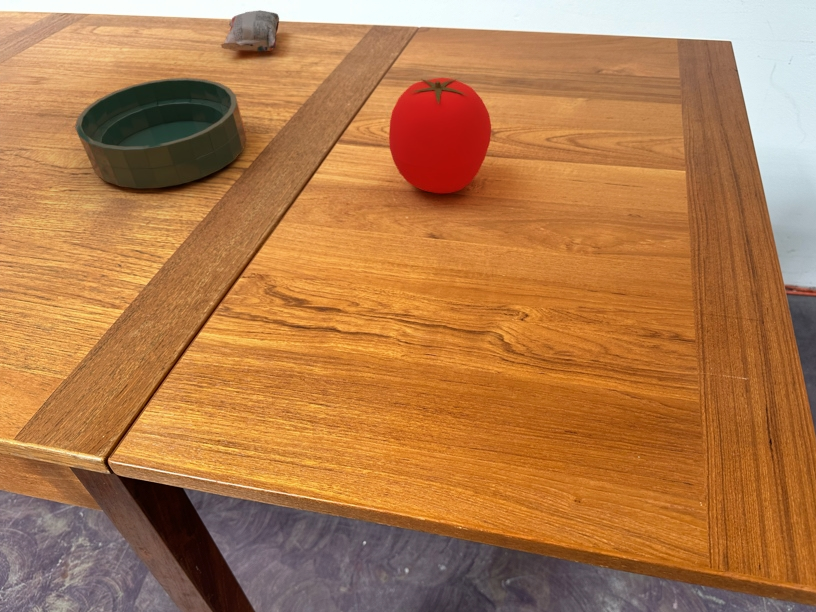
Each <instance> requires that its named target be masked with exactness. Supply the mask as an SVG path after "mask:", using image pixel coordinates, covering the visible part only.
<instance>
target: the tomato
mask: <svg viewBox="0 0 816 612" xmlns="http://www.w3.org/2000/svg"><path fill="white" fill-rule="evenodd" d="M420 80H421V81H417V82H415V83H413V84H411V85H410V86H409V87H407V89H406V90H404V91H403V92H402V93H401V95H400V96H399V97H398V99H397V101H396V103H395V105H394V107H393V109H392V111H391V115H390V120H389V129H388V130H389V132H388V133H389V134H388V142H389V143H388V144H389V152H390V154H391V157H392V160H393V163H394V165H395V167H396V169H397V171H398V172H399V174H400V175H401V177H403V179H405V181H406V182H407V183H408V184H410V185H411V186H413V187H416V188H417V189H419V190H422V191H425V192H428V193H431V194H432V193H433V194H451V193H456V192H459V191H461V190H463V189H465V187H467V186H468V185H470V184H471V182H472V181H473V180H474V179H475V178H476V176H477V175H478V173H479V172H480V169H481V168H482V166H483V163H484V161H485V158H486V157H487V152H488V150H489V147H490V143H491V137H492V136H491V135H492V123H491V118H490V113H489V111H488V108H487V106H486V105H485V102H484V101H483V99H482V97H481V96H480V95H479V94H478V93H477V92H476V91H475V90H474V89H473V87H471V86H469V85H468V84H466V83H464V82H462V81H459V80H457V78H456V79H454V78H449V77H436V78H431V79H422V78H420Z"/></svg>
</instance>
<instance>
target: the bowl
mask: <svg viewBox="0 0 816 612" xmlns="http://www.w3.org/2000/svg"><path fill="white" fill-rule="evenodd" d="M74 129H75V131H76V134H77V136H78V138H79V140H80V142H81V145H82V147H83V149H84V151H85V154H86V156H87V158H88V160H89V161H90V165H91V167H92V169H93V172H94V173H95V175H97V176H98V177H99V178H101V179H102V180H103V181H104V182H107V183H109V184H112V185H116V186H119V187H124V188H132V189H161V188H166V187H173V186H179V185H183V184H187V183H192V182H193V181H196V180H200V179H202V178H205V177H207V176H210V175H211V174H214V173H216V172H218V171H220V170H222V169H223V168H225V167H226V166H227V165H229V164H231V163H232V162H234V161H235V160H236V159H237V158H238V156H239V155H240V154H241V153H242V152H243V151H244V148H245V145H246V144H247V133H246V129H245V124H244V120H243V117H242V114H241V109H240V106H239V101H238V98H237V95H236V93H235V92H234V91H233V90H232V89H231V88H230V87H228V86H226V85H224V84H223V83H221V82H218V81H213V80H209V79H206V78H194V77H175V78H174V77H172V78H171V77H170V78H163V79H155V80H148V81H144V82H141V83H136V84H133V85H129V86H126V87H123V88H120V89H117V90H114V91H112V92H110V93H108V94H106V95H104V96H101V97H99V98H98V99H96V100H95V101H93V102H92V103H90V104H89V105H88V106H86V107H85V108H84V109H83V110H82V111H81V113H80V114H79V115H78V116H77V118H76V122H75V126H74Z"/></svg>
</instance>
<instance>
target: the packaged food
mask: <svg viewBox="0 0 816 612" xmlns="http://www.w3.org/2000/svg"><path fill="white" fill-rule="evenodd" d="M279 23H280V17H279V14H278V13H276V12H272V11H267V10H251V11H245V12H243V13H239V14H237V15H234V16H233V17H232V18H231V20H229V24H228V25H229V27H230V28H229V31H228V32H229V33H228V34H227V35H226V38H225V41H224V43H221V44H220V46H221V48H222V49H224V50H230V51H233V52H269V51H273V50H274V49H275V48H276V44H277V33H278V29H279Z"/></svg>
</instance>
